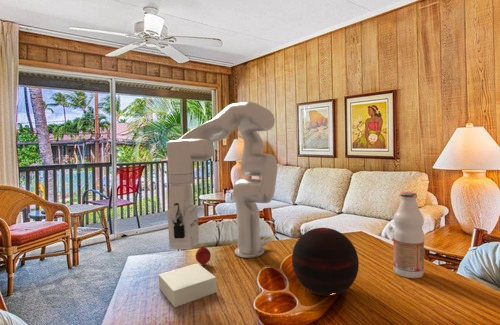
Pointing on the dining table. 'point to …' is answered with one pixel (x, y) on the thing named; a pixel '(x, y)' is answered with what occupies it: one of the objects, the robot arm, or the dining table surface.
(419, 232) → the fruit juice
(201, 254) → the onion
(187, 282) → the block
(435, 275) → the dining table surface
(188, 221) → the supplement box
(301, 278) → the decorative orb
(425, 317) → the dining table surface
